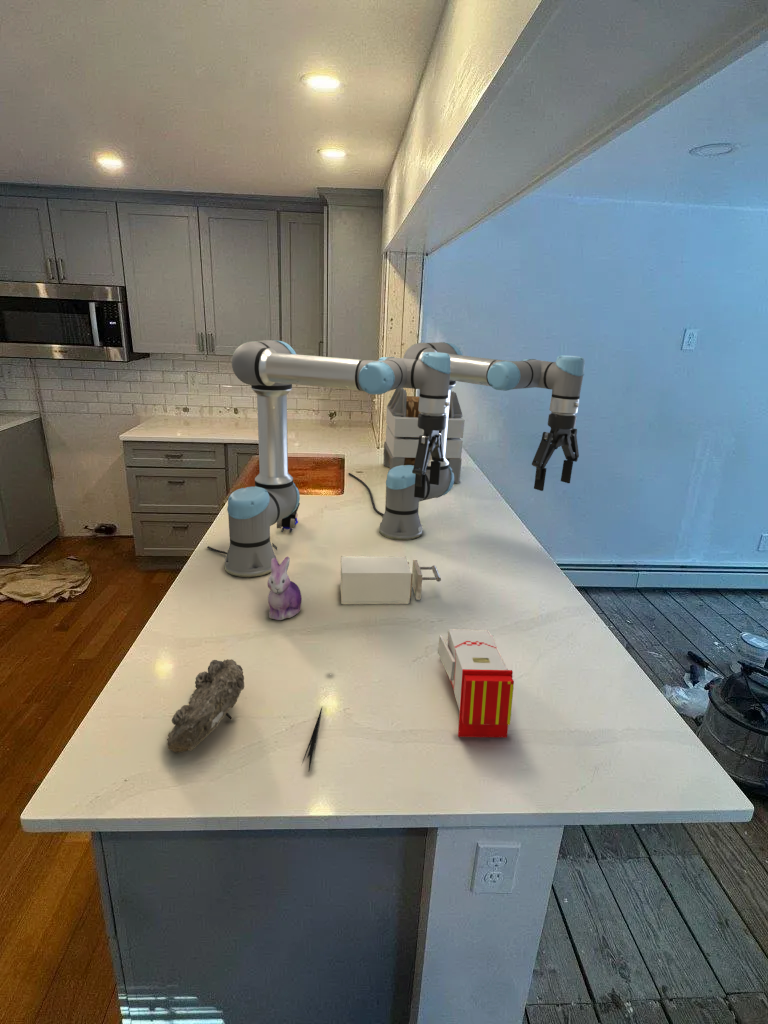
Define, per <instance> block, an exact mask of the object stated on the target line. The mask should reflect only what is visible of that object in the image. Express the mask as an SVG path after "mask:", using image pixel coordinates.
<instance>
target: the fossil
mask: <svg viewBox="0 0 768 1024" xmlns="http://www.w3.org/2000/svg"><path fill="white" fill-rule="evenodd" d="M243 670H244V669H243V667H242V665H240V664H237V662H236V661H235V660H234V659H232V658H231V659H227V658H226V659H224V660H223V661H222V660H217V659H212V660H211V661H210V663H209V665H208V666H207V671H201V672H199V673H198V674H197V675H196V676H195V680H194V684H195V685H194V687H195V689H194V690H193V693H192V694H191V697H190V698H189V700H188V704H184V705H182V706H181V707H180V709H177V710H176V711H175V713H174V715H173V716H172V718H171V723H172V724H173V727H172V730H171V731H170V732H168V734H167V738H166V741H167V742H166V745H167V749H168V750H169V751H173V752H174V753H176V754H178V753H182V752H188V751H189V752H192V751H193V750H195V748H196V747H197V746H199V744H200V743H201V742H203V741H204V740H205V739H206V738H207V737H208V736H209V735H210V734H211V733H212V732H214V730H215V729H217V727H218V726H219V724H220V722H221V721H222V720H223V719H224V718H225V716H226V717H227V719H229V720H233V717H232V715H230V714H229V710H230V709H231V708H234V706H235V704H236V703H237V702H238V699H239V697H240V695H241V693H242V691H243V690H245V689H244V688H245V675H244V671H243Z"/></svg>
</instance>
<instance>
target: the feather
mask: <svg viewBox="0 0 768 1024" xmlns="http://www.w3.org/2000/svg"><path fill="white" fill-rule="evenodd" d="M329 675H330V676H331V675H332V674H331V673H330V674H329ZM322 710H323V707H321V708H320V710H319V713H318V716H317V719H316V723H315V725H314V728H313V731H312V733H311V737H310V739H309V742H308V745H307V748H306V751H305V754H304V757H303V760H302V763H301V767H302V765H303V763H304V761H305V758H308V759H309V760H308V762H307V763H308V764H307V766H308V771H310V770H311V766H312V765H311V764H312V760H313V757H315V756H314V755H315V751H316V749H315V746H317V739H318V733H319V729H320V722H321V717H322V712H323V711H322ZM313 754H314V755H313ZM306 755H307V757H306Z"/></svg>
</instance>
